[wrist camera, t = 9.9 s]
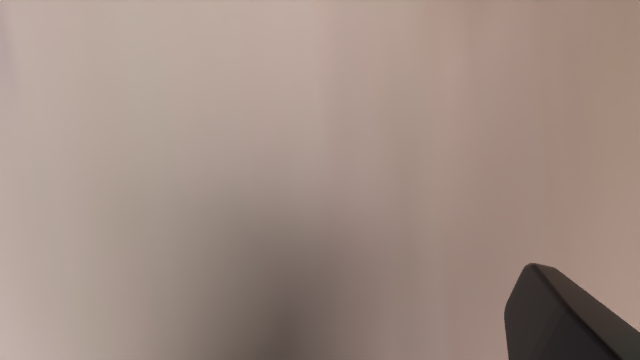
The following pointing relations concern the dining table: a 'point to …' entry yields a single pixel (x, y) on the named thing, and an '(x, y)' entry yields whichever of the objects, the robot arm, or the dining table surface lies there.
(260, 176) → the dining table surface
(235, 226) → the dining table surface
